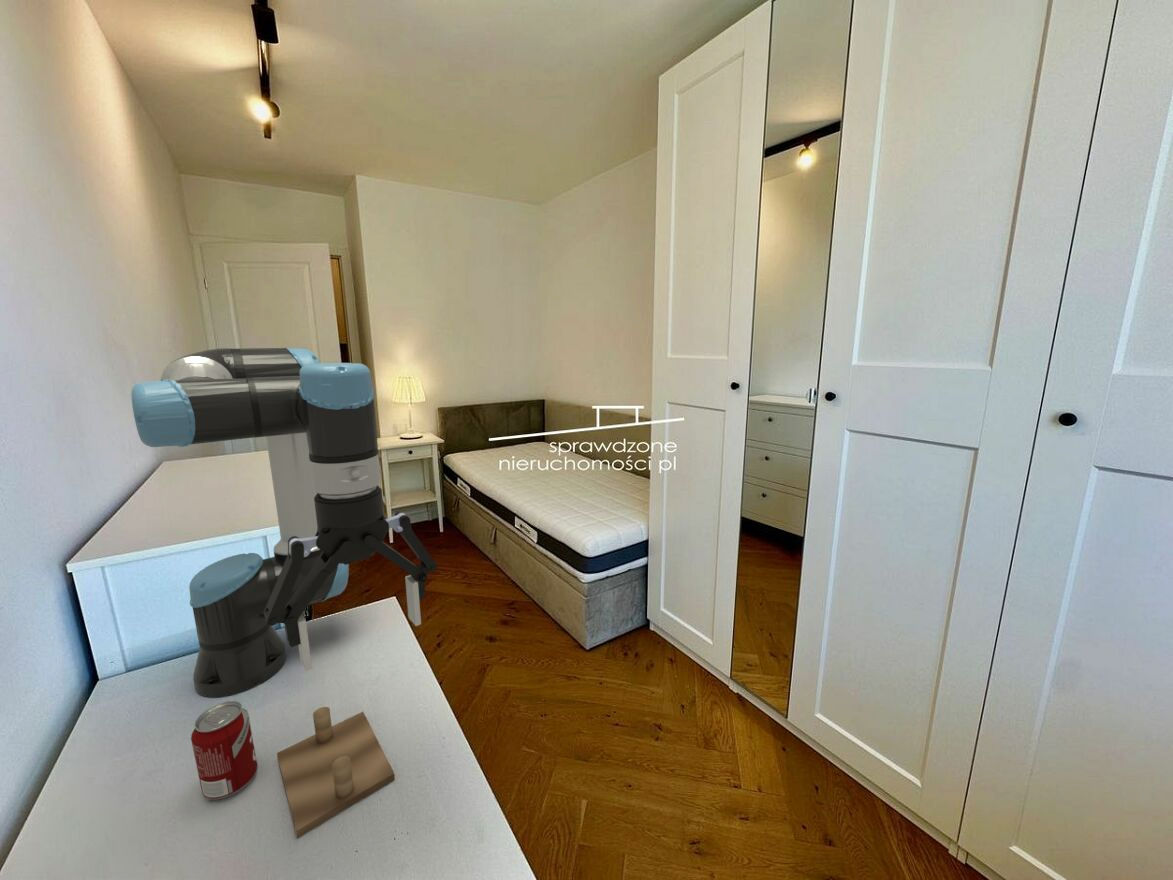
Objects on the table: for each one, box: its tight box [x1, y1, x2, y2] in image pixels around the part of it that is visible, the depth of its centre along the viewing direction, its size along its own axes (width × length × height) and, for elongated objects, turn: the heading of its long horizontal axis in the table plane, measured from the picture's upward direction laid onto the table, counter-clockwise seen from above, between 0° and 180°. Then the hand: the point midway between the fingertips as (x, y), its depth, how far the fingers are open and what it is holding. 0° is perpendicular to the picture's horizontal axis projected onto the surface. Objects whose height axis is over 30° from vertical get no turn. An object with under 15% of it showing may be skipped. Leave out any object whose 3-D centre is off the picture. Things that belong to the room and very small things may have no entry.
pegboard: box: [276, 706, 396, 839], centre depth 72 cm, size 16×13×6 cm
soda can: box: [190, 700, 259, 801], centre depth 69 cm, size 7×7×12 cm
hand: (364, 641), depth 61 cm, fingers open, 13 cm apart
